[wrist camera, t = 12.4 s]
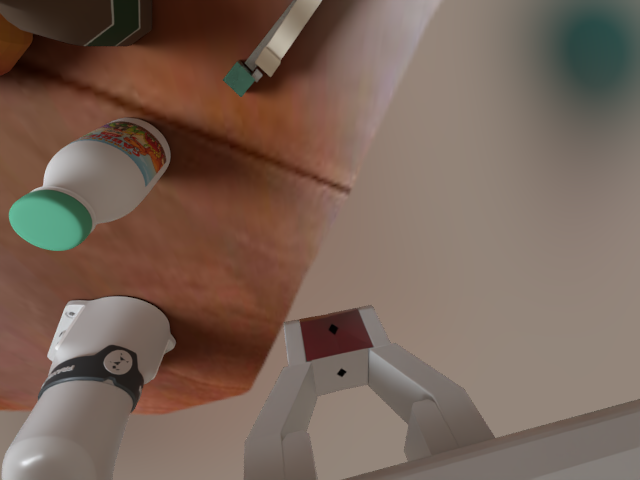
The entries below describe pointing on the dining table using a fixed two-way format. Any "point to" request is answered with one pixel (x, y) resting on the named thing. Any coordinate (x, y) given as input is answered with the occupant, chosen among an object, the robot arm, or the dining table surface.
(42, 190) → the milk bottle
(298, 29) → the grey rectangular bar
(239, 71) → the dark green brushed box
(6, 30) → the pumpkin
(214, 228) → the dining table surface
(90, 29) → the beer bottle
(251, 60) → the grey metal rod
